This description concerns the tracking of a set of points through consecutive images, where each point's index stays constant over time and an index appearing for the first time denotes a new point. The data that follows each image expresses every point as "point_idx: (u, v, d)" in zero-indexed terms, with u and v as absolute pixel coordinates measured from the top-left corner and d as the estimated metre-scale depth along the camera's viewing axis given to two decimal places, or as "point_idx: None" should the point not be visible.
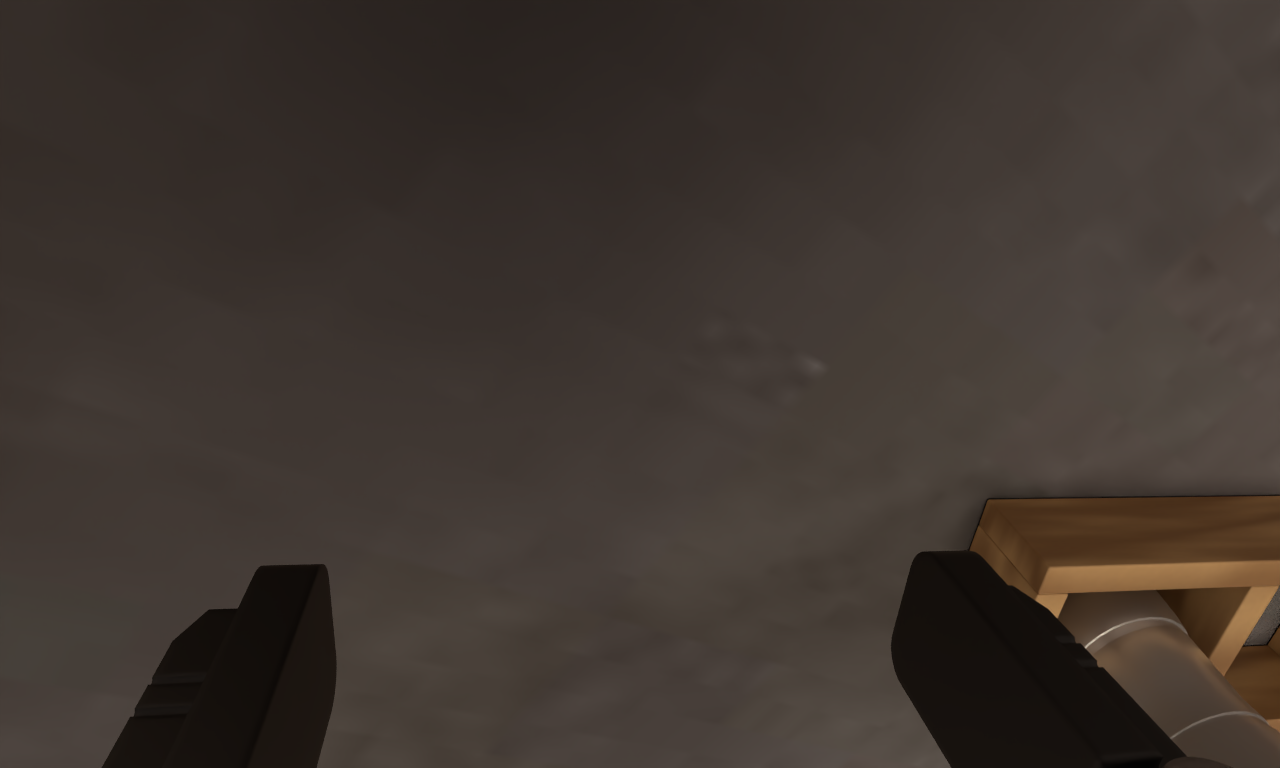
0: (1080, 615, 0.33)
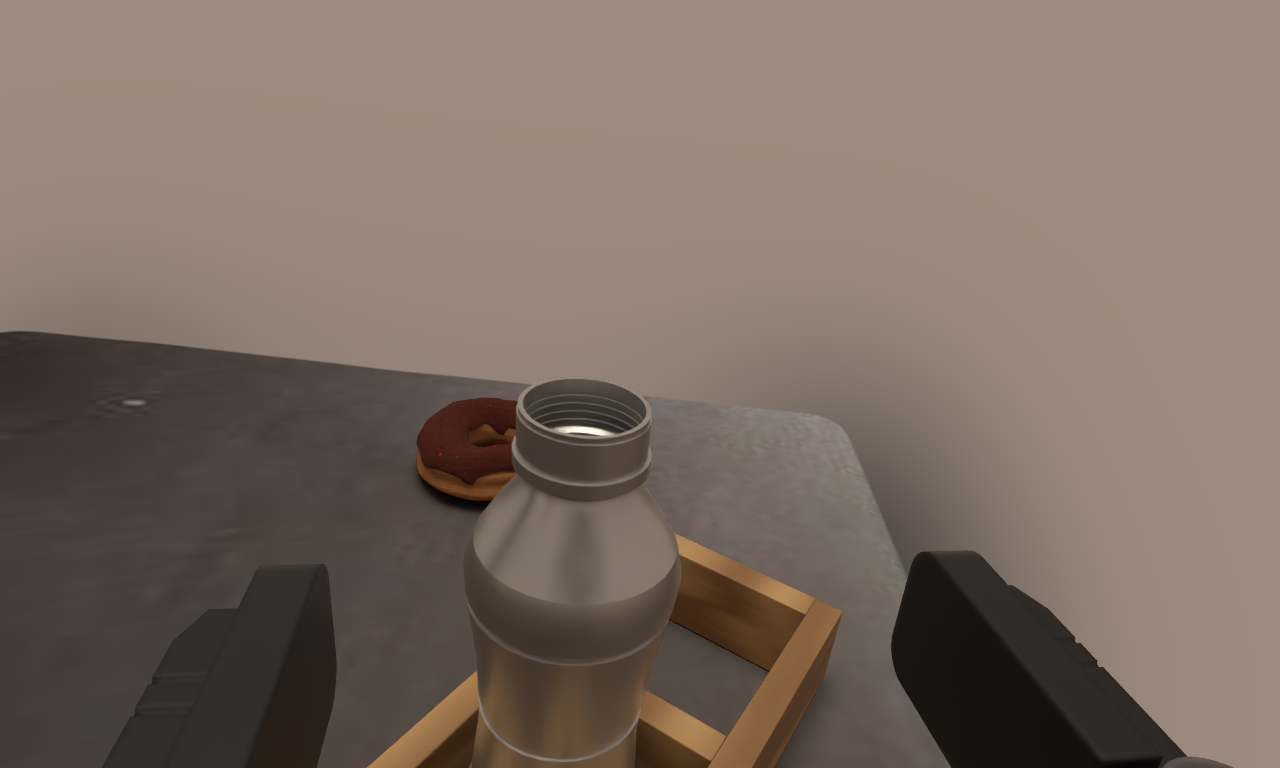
0: None
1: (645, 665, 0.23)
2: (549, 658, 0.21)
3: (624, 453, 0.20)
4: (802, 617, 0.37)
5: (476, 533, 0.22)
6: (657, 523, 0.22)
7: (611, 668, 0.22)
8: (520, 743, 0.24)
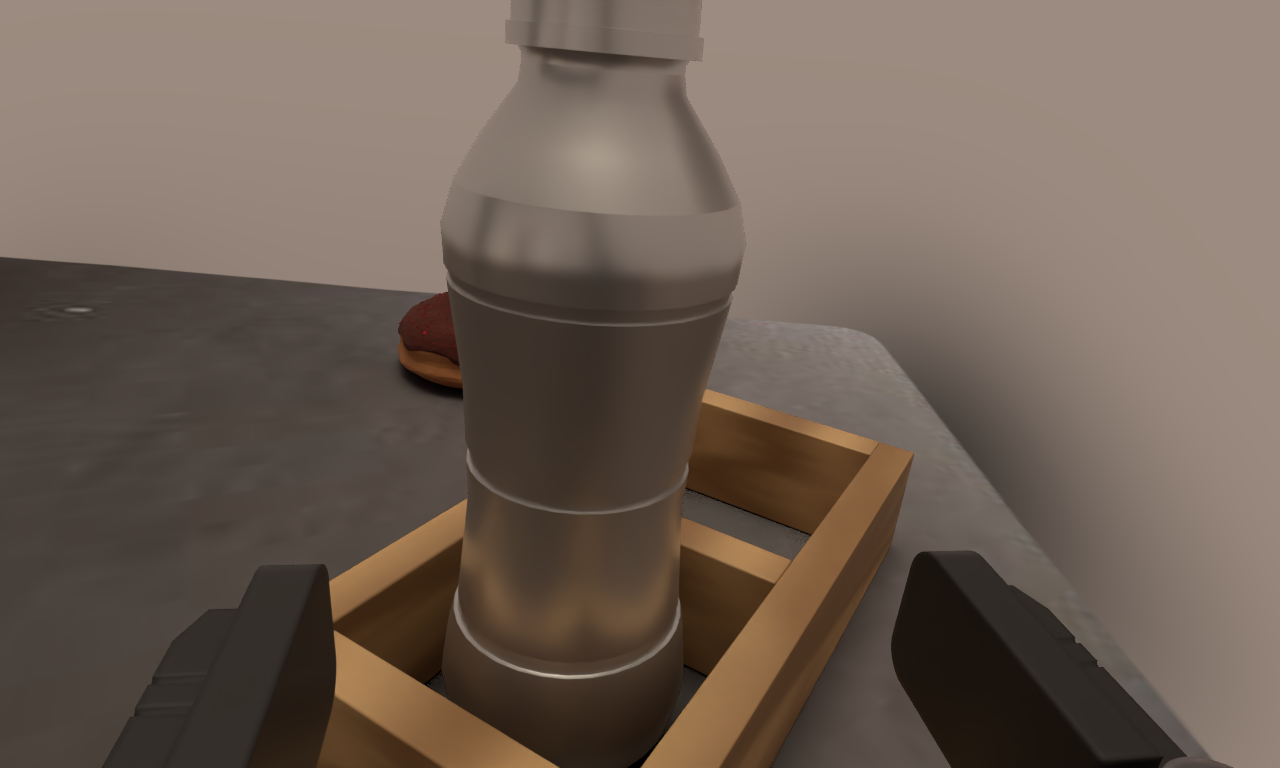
0: None
1: (699, 364, 0.16)
2: (565, 314, 0.14)
3: None
4: (866, 459, 0.31)
5: (457, 170, 0.16)
6: (712, 145, 0.16)
7: (655, 341, 0.15)
8: (525, 490, 0.17)
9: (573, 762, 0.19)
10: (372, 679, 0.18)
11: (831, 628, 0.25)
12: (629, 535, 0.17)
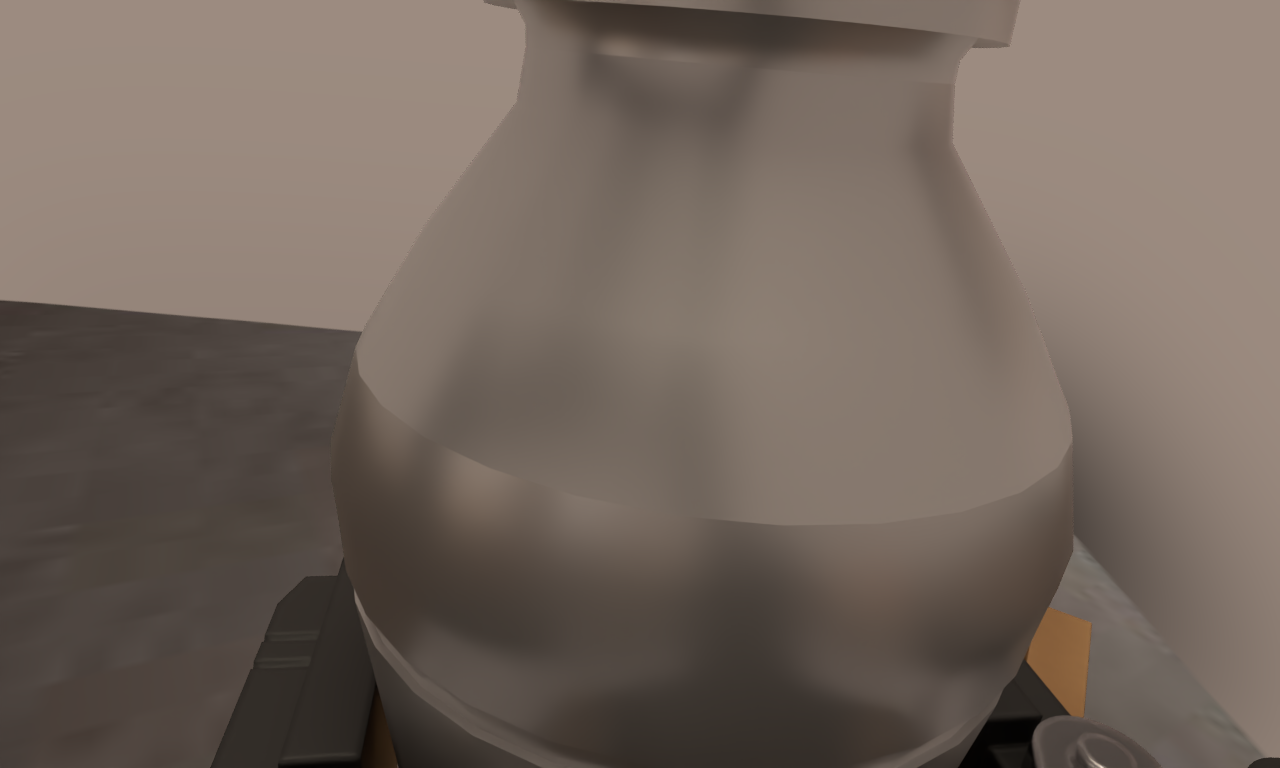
0: None
1: None
2: None
3: None
4: None
5: (369, 322, 0.06)
6: None
7: None
8: None
9: None
10: None
11: None
12: None
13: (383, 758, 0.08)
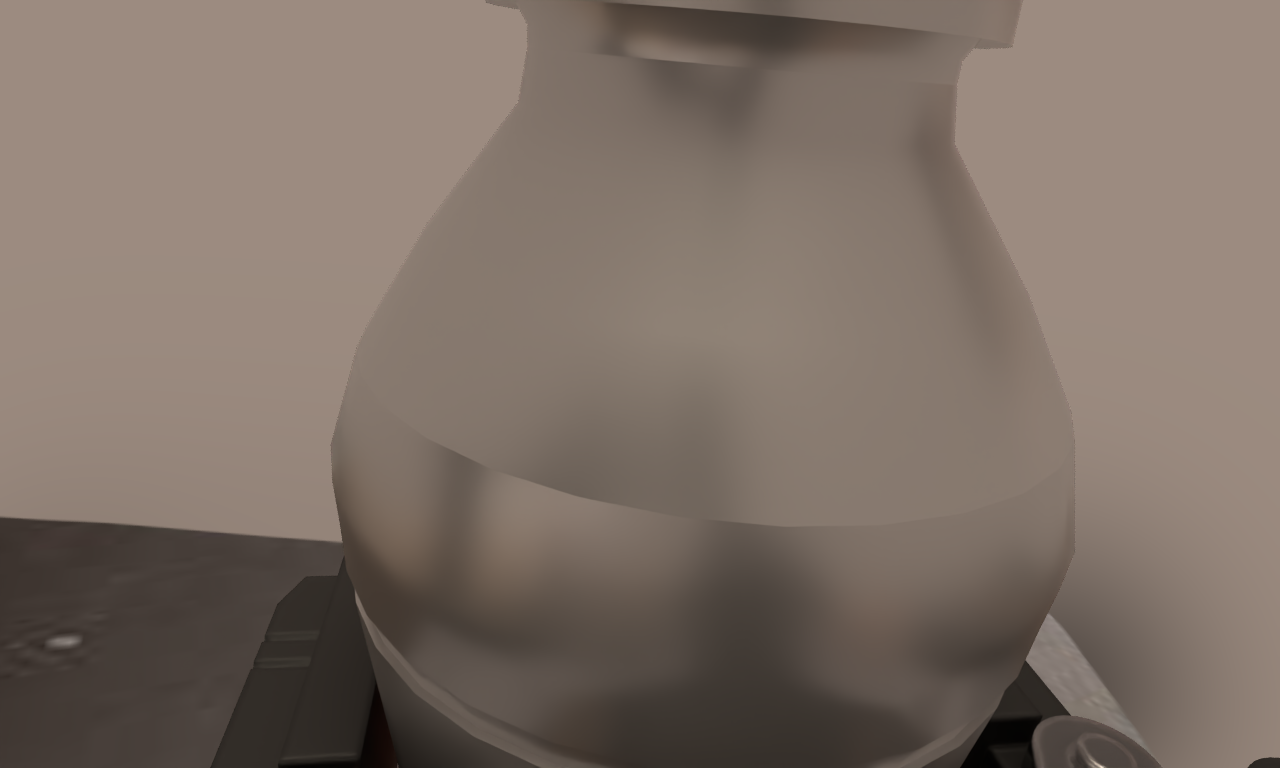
0: None
1: None
2: None
3: None
4: None
5: (370, 322, 0.06)
6: None
7: None
8: None
9: None
10: None
11: None
12: None
13: (383, 758, 0.08)
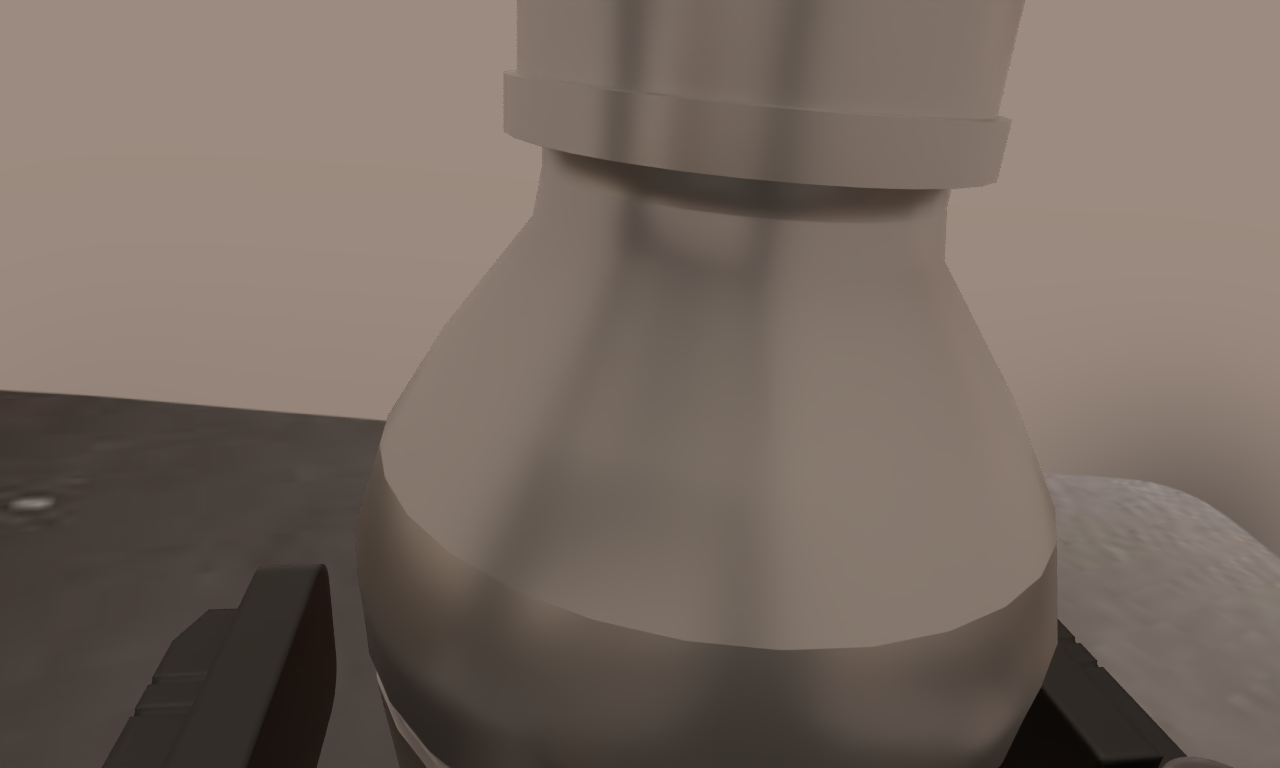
0: None
1: None
2: None
3: None
4: None
5: (392, 419, 0.07)
6: None
7: None
8: None
9: None
10: None
11: None
12: None
13: None
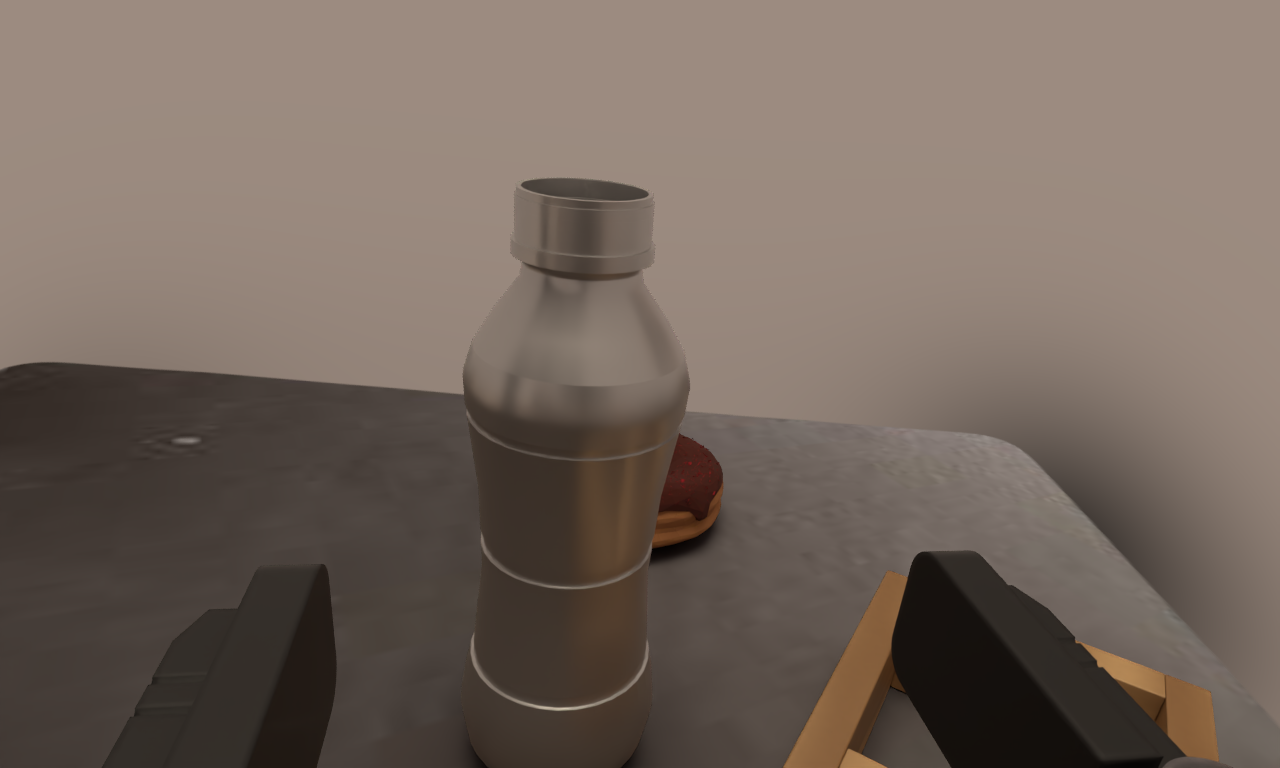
0: None
1: (655, 478, 0.22)
2: (554, 452, 0.20)
3: (627, 224, 0.19)
4: (1159, 702, 0.27)
5: (475, 338, 0.21)
6: (663, 320, 0.21)
7: (619, 468, 0.21)
8: (526, 570, 0.22)
9: None
10: None
11: None
12: (604, 602, 0.23)
13: None
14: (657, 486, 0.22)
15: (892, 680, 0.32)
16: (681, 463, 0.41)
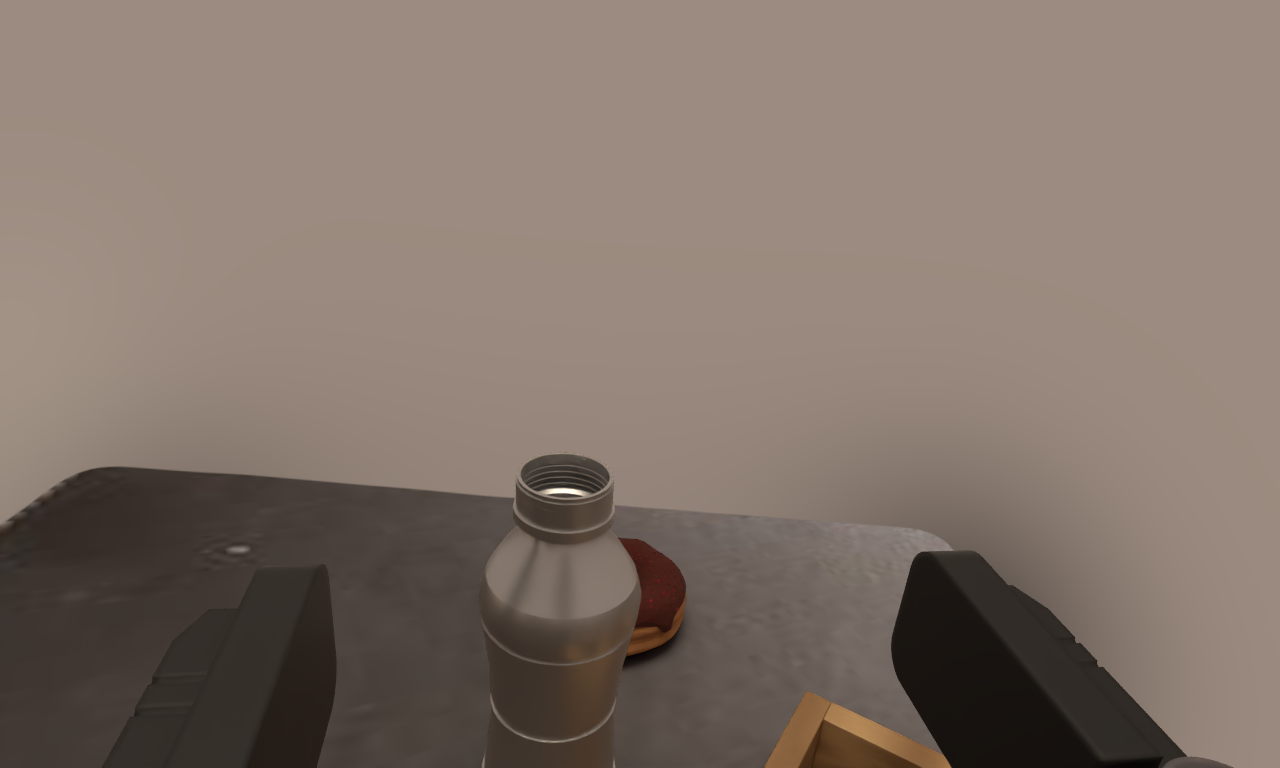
0: None
1: (615, 666, 0.31)
2: (542, 660, 0.29)
3: (593, 509, 0.28)
4: None
5: (488, 570, 0.30)
6: (620, 558, 0.30)
7: (589, 667, 0.30)
8: (523, 729, 0.31)
9: None
10: None
11: None
12: (579, 749, 0.32)
13: None
14: (617, 669, 0.31)
15: None
16: (651, 579, 0.50)
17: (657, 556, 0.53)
